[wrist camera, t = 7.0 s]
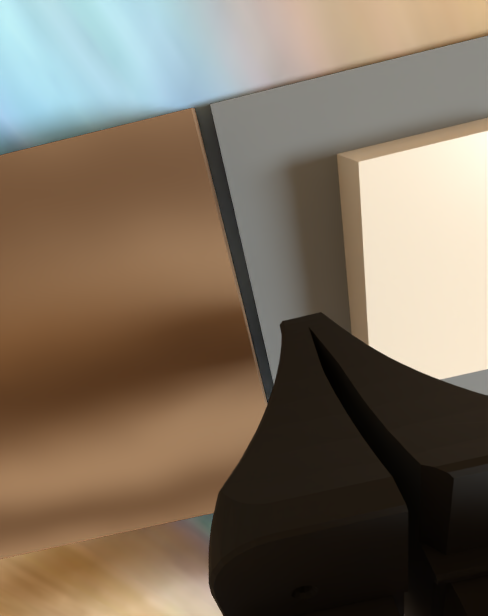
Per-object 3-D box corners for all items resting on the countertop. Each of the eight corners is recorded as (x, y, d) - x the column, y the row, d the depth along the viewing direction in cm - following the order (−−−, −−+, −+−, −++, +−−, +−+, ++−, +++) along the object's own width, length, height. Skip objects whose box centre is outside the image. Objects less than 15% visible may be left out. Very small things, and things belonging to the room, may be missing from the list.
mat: (540, 386, 19) (549, 394, 19) (286, 442, 19) (289, 451, 19) (635, -1, 11) (655, -6, 11) (210, 104, 12) (210, 104, 11)
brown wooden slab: (277, 444, 19) (288, 496, 17) (24, 500, 20) (-4, 559, 17) (194, 108, 12) (191, 108, 9) (-219, 209, 12) (-338, 238, 9)
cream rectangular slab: (371, 394, 15) (354, 364, 16) (519, 361, 15) (486, 334, 16) (358, 161, 10) (337, 153, 12) (569, 111, 10) (516, 110, 12)
